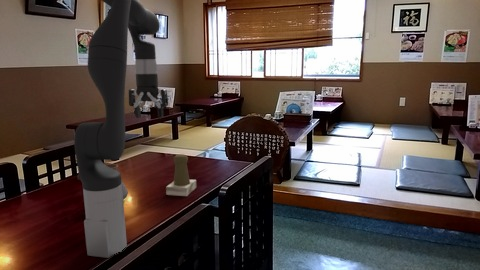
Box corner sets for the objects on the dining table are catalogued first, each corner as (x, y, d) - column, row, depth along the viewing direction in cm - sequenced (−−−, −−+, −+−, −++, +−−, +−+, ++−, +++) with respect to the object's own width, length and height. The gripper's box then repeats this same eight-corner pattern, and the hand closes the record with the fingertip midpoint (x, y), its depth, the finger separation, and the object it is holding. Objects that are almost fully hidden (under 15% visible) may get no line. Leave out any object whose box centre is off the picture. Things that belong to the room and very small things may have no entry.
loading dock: (186, 196, 132) (186, 188, 131) (166, 194, 134) (166, 187, 133) (196, 187, 141) (196, 179, 141) (177, 185, 143) (176, 178, 143)
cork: (187, 186, 134) (186, 157, 132) (171, 185, 134) (170, 156, 132) (191, 180, 140) (190, 153, 137) (176, 180, 140) (174, 152, 138)
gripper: (122, 73, 127) (126, 119, 130) (160, 72, 123) (163, 120, 126) (133, 72, 134) (136, 116, 137) (169, 72, 130) (172, 117, 134)
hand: (149, 118), depth 132 cm, fingers open, 8 cm apart
